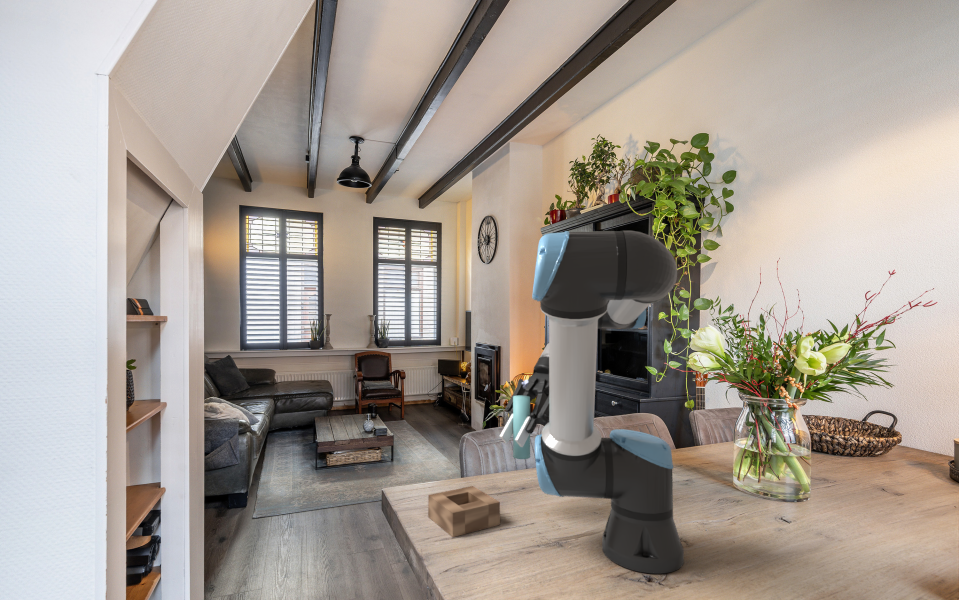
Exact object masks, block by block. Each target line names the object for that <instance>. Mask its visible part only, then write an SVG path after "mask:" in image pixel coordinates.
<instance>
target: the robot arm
mask: <svg viewBox="0 0 959 600" xmlns="http://www.w3.org/2000/svg"><path fill="white" fill-rule="evenodd" d="M677 276H678V268H677V262H676V260H675V258H674V256H673V254H672V253H671V251H670V250H669V249H668V248H667V247H666V246H665V245H664V243H662V242H661V241H660V240H658V239H656V238H655V237H653V236H651V235H650V234H647V233H643V232H641V231H635V230H620V231H617V230H616V231H615V230H613V231H612V230H611V231H607V230H605V231H604V230H603V231H602V230H601V231H568V230H565V231H564V232H563V231H562V232H550V233H545V234H544V235H542V236H541V237H540V239H539V241H538V246H537V254H536V262H535V269H534V279H533V286H532V287H533V288H532V297H531V299H532V300H533V301H536V302H540V307H539V308H540V311H541V313H543V314H544V315H546V317H547V318H548V342H547V344H546V345H545V347H544V350H543V351H542V352H541V355H540V356H539V358H538V360H537V362H536V363H535V365H534V367H533V369H532V370H533V371H532V374H531V375H530V376H529V378H528V379H525V380H524V379H522V378H519V379H518V380H517V386H516V388H515V390H514V392H513V393H512V396H511V397H510V399H509V400H508V403H507V405H506V406H505V410H506V412H507V413H508V417H507V419H506V420H505V422H504V427H503V429H502V431H501V433H500V434H499V438H500V439H501V440H502V441H503V442H504V444H508V443H509V441H510V440H511V437H513V396H518V395H523V396H530V403H531V402H532V401H533V400H535V403H534V405H533V409H532V411H531V412H530V417H529V416H527V418H526V420H525V422H524V424H523V425H522V427H521V429H520V431H519V433H518V435H517V437H516V438H515V441H516V442H517V443H518V444H519V446H520V447H523V446H524V444H525V442H526V440H527V438H528V436H529V434H530V435H531V434H533V433H534V431H535V429H536V427H537V425H538V424H539V423H542V422H543V423H546V422H547V423H546V424H545V425H544V426H543V428H542V431H541V434H537V435H536V436H535V438H534V458H535V470H536V476H537V477H536V478H537V481H538V485H539V488H540V490H541V492H543V493H544V494H546V495H549V496H557V497H562V498H564V497H569V498H571V497H573V498H588V499H589V498H590V499H606V500H607V499H608V500H610V513H609V515H608V518H607V521H606V524H605V527H604V531H603V534H602V539H601V542H602V547H601V548H602V552H603V554H604V556H606V558H608V559H609V560H610V561H612V562H613V563H615V564H616V565H618V566H620V567H623V568H626V569H628V570H631V571H635V572H638V573H639V572H640V573H647V574H668V573H672V572H675V571H677V570H679V569H680V568H681V567H682V566H683V565H684V563H685V560H684V557H685V555H684V547H683V544H682V541H681V540H680V536H679V533H678V529H677V526H676V523H675V519H674V511H673V510H674V499H673V497H674V491H673V490H674V489H673V487H674V486H673V485H674V483H673V482H674V481H673V470H674V464H673V455H672V448H671V446H670V444H669V443H668V442H667V441H665V440H664V439H663V438H660V437H658V436H656V435H653V434H650V433H648V432H647V433H646V432H642V431H638V430H633V429H632V430H631V429H623V428H620V429H616V428H615V429H612V430H611V431H610V434H609V435H608V436H609V437H602V434H601V431H600V430H599V429H598V427H596V425H595V403H596V402H595V400H596V399H595V398H596V397H595V395H596V378H597V377H596V376H597V373H596V372H597V353H598V352H597V348H598V329H617V330H622V329H624V330H625V329H626V330H634V329H636V330H637V329H642V328H644V326H645V323H646V319H647V308H648V307H649V306H650V305H651V304H653V303H657V302H660V301H661V300H663V299H664V298H665V297H666V296H668V294H670V292H671V291H672V290H673V288H674V286H675V284H676V282H677V279H678V277H677Z"/></svg>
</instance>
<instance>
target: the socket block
mask: <svg viewBox="0 0 959 600" xmlns="http://www.w3.org/2000/svg"><path fill="white" fill-rule="evenodd" d="M427 498H428V502H427V504H428V507H427V508H428V509H427V514H428V515H427V517H428V519H430V520H431V521H432V522H434V523H435V524H436V526H438V527H439V528H441V529H442V530H443V531H444V532H446V533H447V534H448V535H449V536H450V537H451V538H455V537H459V536H463V535H466V534H470V533H474V532H477V531H482V530H484V529H490V528H493V527H496V526H500V525H501V518H500V517H501V513H500V512H501V507H500V506H501V504H500V501H499V500H497V499H496V498H493V497H492V496H490V495H488V494H487V493H485V492H484V491H483V490H480V489H478V488H477V487H475V486H474V485H470V486H466V487H460V488H456V489H455V488H454V489H450V490H445V491H441V492H437V493H432V494H428V497H427Z"/></svg>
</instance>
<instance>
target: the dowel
mask: <svg viewBox="0 0 959 600" xmlns="http://www.w3.org/2000/svg"><path fill="white" fill-rule="evenodd" d="M530 414H531V402H530V396H523V395H518V396H513V434H512V446H513V447H512V449H513V450H512V453H513V454H512V455H513V456H512V457H513V458H514V459H515V460H516V459H517V460H527V459H530V458H531V434H529V436H528V438H527V440H526V442H525V444H524V446H523V447H520V446H519V444H518V443H517V442H516V441H515V438H516V437H517V435H518V433H519V431H520V429H521V427H522V425H523V424H524V422H525V420H526V418H527V416H529V417H531V415H530Z"/></svg>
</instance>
